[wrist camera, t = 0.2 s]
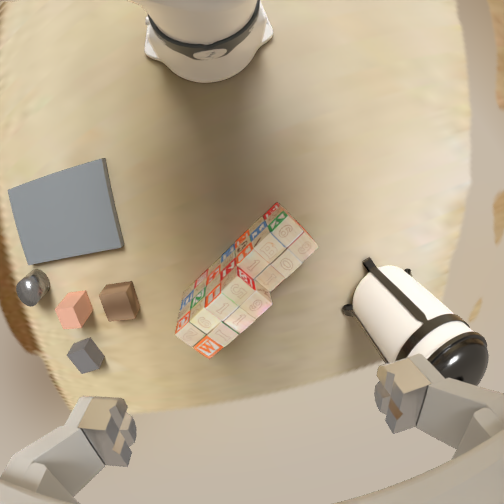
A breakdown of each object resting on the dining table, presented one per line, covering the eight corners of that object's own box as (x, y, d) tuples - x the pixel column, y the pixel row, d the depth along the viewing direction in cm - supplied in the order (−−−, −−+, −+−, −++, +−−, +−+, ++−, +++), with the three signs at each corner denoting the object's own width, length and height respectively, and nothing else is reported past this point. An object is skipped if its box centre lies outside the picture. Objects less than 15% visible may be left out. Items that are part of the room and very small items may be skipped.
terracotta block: (68, 292, 48) (54, 309, 43) (85, 290, 48) (72, 307, 43) (75, 311, 50) (63, 329, 44) (93, 309, 50) (81, 327, 44)
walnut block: (106, 284, 49) (98, 295, 45) (132, 280, 49) (125, 291, 45) (115, 309, 50) (108, 321, 47) (140, 306, 51) (135, 318, 47)
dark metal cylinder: (26, 271, 46) (12, 282, 41) (44, 267, 46) (31, 279, 42) (35, 294, 48) (22, 307, 43) (53, 292, 48) (41, 305, 43)
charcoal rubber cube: (73, 343, 52) (66, 355, 49) (90, 336, 52) (83, 349, 48) (87, 361, 54) (81, 373, 50) (104, 355, 54) (99, 368, 50)
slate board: (12, 188, 40) (7, 190, 39) (105, 157, 41) (101, 158, 40) (32, 262, 46) (28, 265, 44) (124, 244, 46) (121, 247, 45)
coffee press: (351, 339, 57) (419, 460, 29) (329, 274, 51) (418, 403, 23) (424, 301, 56) (514, 394, 28) (412, 233, 50) (535, 316, 22)
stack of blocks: (276, 199, 46) (294, 220, 35) (303, 227, 48) (328, 256, 37) (182, 292, 50) (173, 336, 39) (211, 314, 52) (209, 361, 41)
